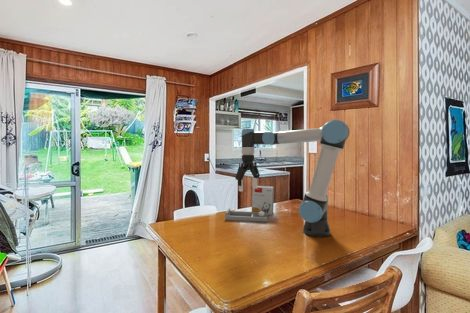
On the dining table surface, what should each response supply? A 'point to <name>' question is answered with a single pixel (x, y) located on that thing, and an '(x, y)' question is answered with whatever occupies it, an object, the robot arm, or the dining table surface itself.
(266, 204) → the hard drive box
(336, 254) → the dining table surface
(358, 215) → the dining table surface
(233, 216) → the lane
